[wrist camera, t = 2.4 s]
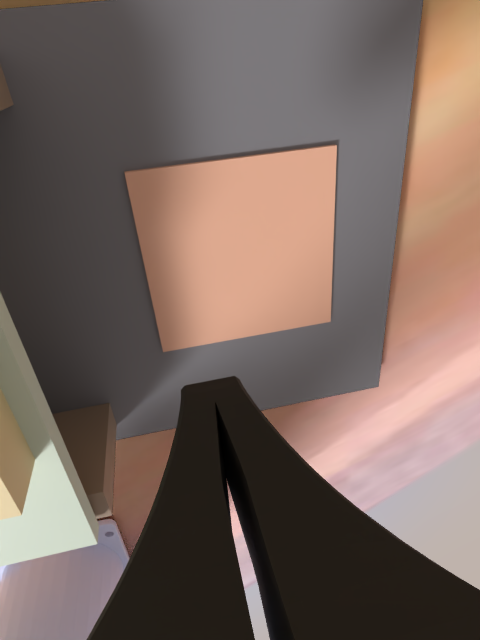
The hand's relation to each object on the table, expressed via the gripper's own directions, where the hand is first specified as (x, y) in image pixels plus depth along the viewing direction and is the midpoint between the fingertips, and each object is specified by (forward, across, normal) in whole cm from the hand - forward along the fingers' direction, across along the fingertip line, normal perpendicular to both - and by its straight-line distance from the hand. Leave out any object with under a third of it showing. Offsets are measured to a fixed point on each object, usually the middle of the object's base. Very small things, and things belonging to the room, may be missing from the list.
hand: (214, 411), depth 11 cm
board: (+10, +10, 0) cm, 14 cm away
